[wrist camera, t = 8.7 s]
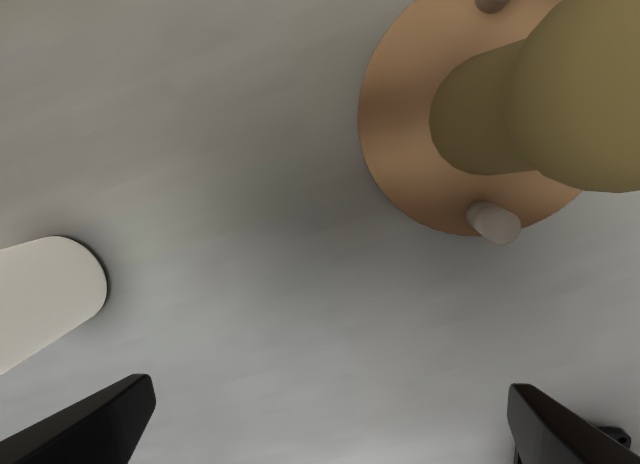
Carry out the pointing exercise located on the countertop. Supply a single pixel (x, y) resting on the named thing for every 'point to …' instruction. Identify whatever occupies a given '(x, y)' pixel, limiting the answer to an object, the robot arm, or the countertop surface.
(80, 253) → the can
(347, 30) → the countertop surface
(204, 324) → the countertop surface
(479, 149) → the cork
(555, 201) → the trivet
